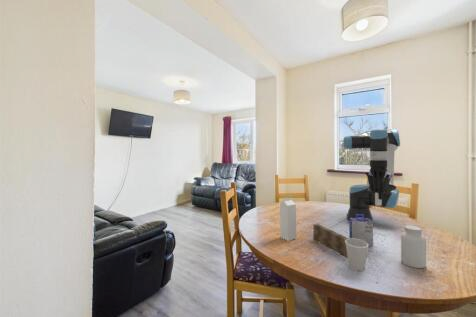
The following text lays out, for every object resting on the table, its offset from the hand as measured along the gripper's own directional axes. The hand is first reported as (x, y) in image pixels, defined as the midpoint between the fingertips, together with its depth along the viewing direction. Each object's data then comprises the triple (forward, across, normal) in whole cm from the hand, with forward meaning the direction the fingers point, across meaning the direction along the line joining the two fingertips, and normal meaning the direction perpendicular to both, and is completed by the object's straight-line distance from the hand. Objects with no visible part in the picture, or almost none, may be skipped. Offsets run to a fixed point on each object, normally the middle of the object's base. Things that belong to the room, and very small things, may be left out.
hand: (378, 205), depth 111 cm
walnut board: (+18, -2, -29) cm, 34 cm away
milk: (+18, -19, -42) cm, 50 cm away
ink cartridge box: (+18, 0, -12) cm, 22 cm away
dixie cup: (+18, +15, -32) cm, 40 cm away
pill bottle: (+18, +22, -9) cm, 30 cm away
